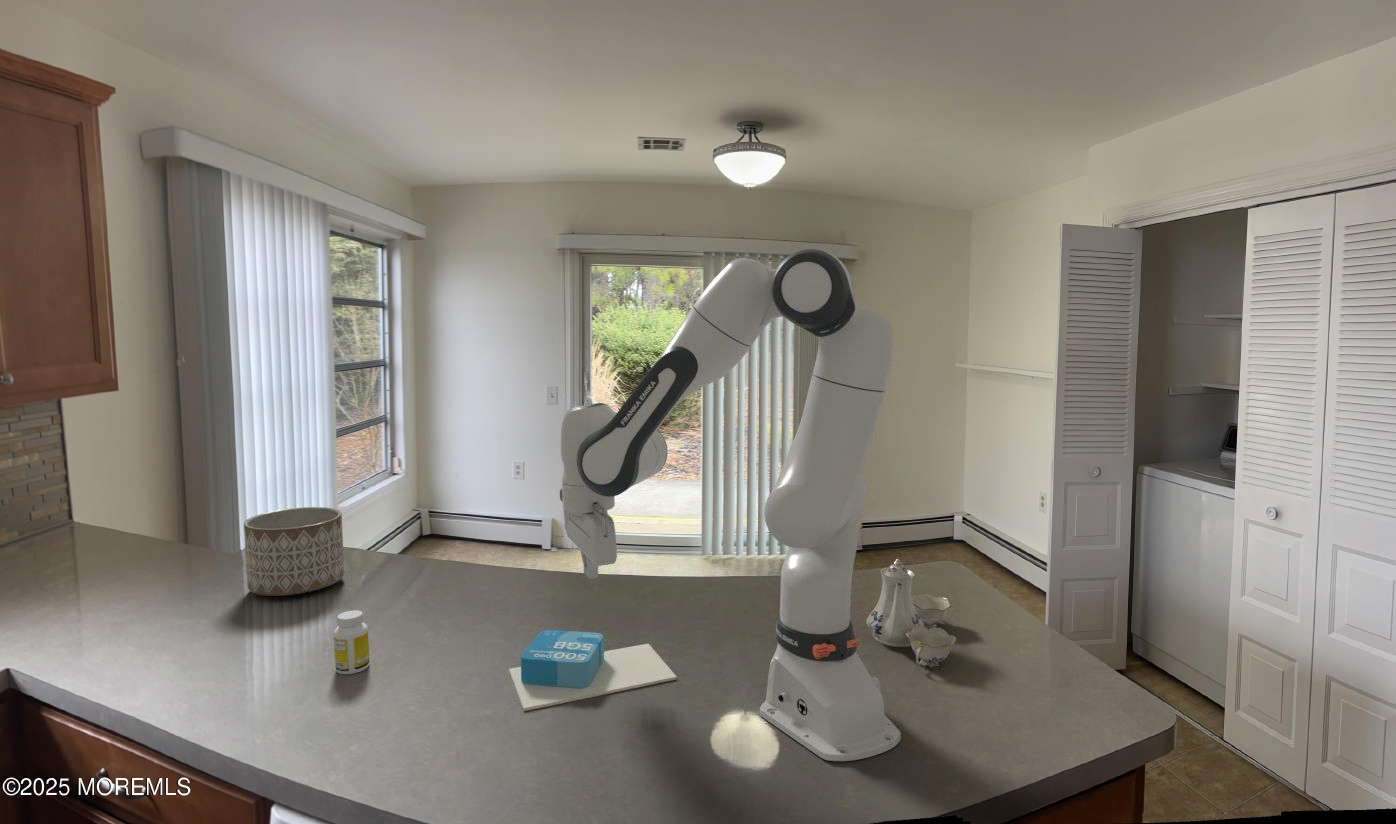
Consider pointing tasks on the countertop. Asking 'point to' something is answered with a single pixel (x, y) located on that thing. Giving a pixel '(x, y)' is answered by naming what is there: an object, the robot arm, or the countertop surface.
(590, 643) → the data package
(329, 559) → the planter
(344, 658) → the supplement bottle
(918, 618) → the chinaware
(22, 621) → the countertop surface
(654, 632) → the countertop surface
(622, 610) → the countertop surface
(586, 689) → the mat
